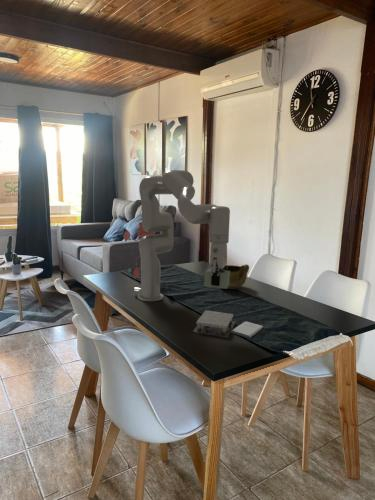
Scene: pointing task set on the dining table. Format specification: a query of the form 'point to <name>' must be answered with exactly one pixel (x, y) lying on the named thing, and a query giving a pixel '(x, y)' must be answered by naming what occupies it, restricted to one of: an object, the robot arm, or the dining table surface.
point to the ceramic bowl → (236, 275)
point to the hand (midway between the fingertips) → (217, 283)
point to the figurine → (140, 233)
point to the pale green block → (223, 278)
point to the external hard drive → (247, 329)
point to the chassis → (215, 324)
